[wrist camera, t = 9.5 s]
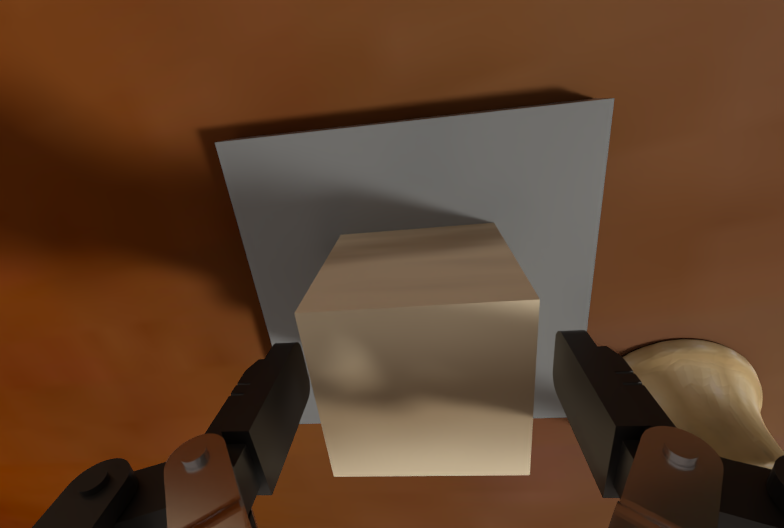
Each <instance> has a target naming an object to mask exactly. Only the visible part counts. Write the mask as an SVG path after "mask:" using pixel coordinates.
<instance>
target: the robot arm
mask: <svg viewBox="0 0 784 528" xmlns="http://www.w3.org/2000/svg"><path fill="white" fill-rule="evenodd" d="M553 383H554V388H555V391H556V394H557V396H558V398H559V401H560V403H561V405H562V407H563V409H564V412H565V414H566V416H567V418H568V421H569V423H570V425H571V427H572V430H573V432H574V434H575V436H576V439H577V441H578V443H579V445H580V448H581V450H582V452H583V454H584V456H585V459H586V461H587V463H588V465H589V468H590V470H591V472H592V474H593V477H594V479H595V481H596V483H597V486H598V488H599V490H600V492H601V495H602V497H603V498H620V502H619V501H618V502H617V504H616V507H615V510H614V512H613V515H612V518H611V521H610V524H609V527H608V528H784V455H783V456H781V457H779V458H778V459H777V460H776V461H775V463H774V466H773V468H772V469H768V468H764V467H760V466H755V465H751V464H747V463H742V462H738V461H734V460H730V459H726V458H723V457H720V456H719V455H718V454H717V453H716V451H715V450H714V449H713V448H712V447H711V446H710V445H709V444H707V443H706V442H705V441H703V440H702V439H700V438H699V437H697V436H695V435H694V434H692V433H689V432H687V431H685V430H682V429H679V428H676V426H675V425H674V424H673V422H672V421H671V420H670V418H669V417H668V416H667V414H666V413H665V412H664V411H663V409H662V408H661V407H660V405H659V404H658V403H657V401H656V400H655V399H654V397H653V396H652V395H651V394H650V392H649V391H648V390H647V388H646V387H645V386H644V385H642V382H641V380H640V379H639V378H638V376H637V375H636V374H634V373H633V370H632V369H631V367H630V366H629V365H628V363H627V362H626V361H625V359H624V358H623V357H622V356H620V355H619V354H617V353H616V352H614V351H613V350H611V349H610V348H608V347H607V346H601V347H597V346H596V344H595V343H594V341H593V340H592V338H591V337H590V336H589V334H588V333H587V331H585V330H571V331H558V332H557V333H556V337H555V348H554V360H553ZM309 394H310V380H309V375H308V371H307V367H306V363H305V359H304V355H303V351H302V348H301V345H300V344H299V343H298V342H292V343H275V344H274V345H273V346H272V348H271V349H270V351H269V353H268V354H267V356H266V358H265V359H260V360H258V361H257V362H255V363H254V364H253V365H252V366H251V367H249V368H248V369H247V370H246V371H245V372H244V374H243V376H242V377H241V379H240V380H239V382H238V385H236V386H235V388H234V389H233V391H232V393H231V396H229V397H228V399H227V400H226V402H225V403H224V405H223V406H222V408H221V410H220V411H219V413H218V414H217V416H216V417H215V419H214V420H213V422H212V423H211V425H210V427H209V428H208V430H207V431H206V433H205V434H203V435H199V436H196V437H194V438H192V439H190V440H188V441H186V442H185V443H183V444H182V445H181V446H179V447H178V448H177V449H176V450H175V451H174V452H173V453H172V454H171V455H170V457H169V458H168V460H167V462H165V463H161V464H158V465H154V466H151V467H147V468H144V469H141V470H137V471H133V470H132V468H131V466H130V464H129V463H128V462H127V461H126V460H124V459H120V458H116V459H110V460H106V461H103V462H100V463H98V464H96V465H94V466H92V467H91V468H89V469H87V470H86V471H84V472H83V473H81V474H80V475H79V476H78V477H76V478H75V479H74V480H73V481H72V482H71V483H70V484H69V485H68V486H67V487H66V489H65V490H64V491H63V492H62V493H61V494H60V496H59V497H58V498H57V499H56V500H55V501H54V503H53V504H52V505H51V506H50V507H49V508H48V510H47V511H46V512H45V513H44V514H43V515H42V517H41V518H40V519H39V520H38V521H37V522H36V524H35V525H34V526H33V527H32V528H258V526H257V523H256V519H255V516H254V513H253V510H252V508H251V507H252V505H253V503H254V500H255V498H256V495H272V494H273V491H274V488H275V486H276V483H277V480H278V478H279V475H280V473H281V470H282V467H283V465H284V462H285V459H286V457H287V454H288V451H289V449H290V446H291V444H292V441H293V438H294V436H295V433H296V430H297V428H298V425H299V423H300V420H301V417H302V415H303V412H304V409H305V407H306V404H307V401H308V399H309Z"/></svg>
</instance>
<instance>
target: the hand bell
mask: <svg viewBox="0 0 784 528" xmlns="http://www.w3.org/2000/svg"><path fill="white" fill-rule="evenodd" d="M623 358H624V359H625V361H626V362H627V363H628V365H629V366H630V367H631V369H632V370H633V373H634V374H636V375H637V376H638V378H639V379H640V380H641V382H642V385H644V386H645V387H646V388H647V390H648V391H649V392H650V394H651V395H652V396H653V397H654V399H655V400H656V401H657V403H658V404H659V405H660V407H661V408H662V409H663V411H664V412H665V413H666V414H667V416H668V417H669V418H670V420H671V421H672V422H673V424H674V425H675V426H676V428H679V429H682V430H685V431H687V432H689V433H692V434H694V435H695V436H697V437H699V438H700V439H702V440H703V441H705V442H706V443H707V444H709V445H710V446H711V447H712V448H713V449H714V450H715V451H716V453H717V454H718V455H719V456H720V457H723V458H726V459H730V460H734V461H738V462H742V463H747V464H751V465H755V466H760V467H764V468H768V469H772V468H773V466H774V463H775V461H776V460H777V459H778V458H779V457H781V456H783V455H784V451H783V450H782V449H781V448H780V446H779V445H778V444H777V443H776V441H775V440H774V439H773V437H772V436H771V434H770V433H769V431H768V429H767V428H766V426H765V424H764V422H763V420H762V418H761V414H760V411H761V407H762V399H763V398H762V388H761V385H760V382H759V379H758V376H757V374H756V372H755V370H754V369H753V367H752V366H751V365H750V363H749V362H748V361H747V360H746V359H745V358H744V357H743V356H742V355H740V354H738V353H737V352H736V351H734V350H732V349H730V348H728V347H726V346H723V345H721V344H717V343H714V342H710V341H705V340H694V339H679V340H670V341H664V342H659V343H655V344H652V345H648V346H645V347H643V348H640V349H638V350H635V351H633V352H631V353H628V354H627V355H625V356H623Z"/></svg>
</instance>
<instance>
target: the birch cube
mask: <svg viewBox="0 0 784 528" xmlns="http://www.w3.org/2000/svg"><path fill="white" fill-rule="evenodd" d="M539 306H540V299H539V297H538V295H537V294H536V292H535V290H534V289H533V287H532V285H531V284H530V282H529V280H528V279H527V277H526V275H525V274H524V272H523V270H522V269H521V267H520V265H519V264H518V262H517V260H516V259H515V257H514V255H513V254H512V252H511V250H510V249H509V247H508V245H507V243H506V242H505V240H504V238H503V237H502V235H501V233H500V232H499V230H498V228H497V227H496V225H495V223H484V224H471V225H458V226H446V227H433V228H420V229H408V230H395V231H382V232H370V233H357V234H344V235H340V237H339V239H338V240H337V242H336V244H335V245H334V247H333V249H332V250H331V252H330V254H329V256H328V257H327V259H326V261H325V262H324V264H323V266H322V267H321V269H320V271H319V272H318V274H317V276H316V277H315V279H314V281H313V283H312V284H311V286H310V288H309V289H308V291H307V293H306V294H305V296H304V298H303V299H302V301H301V303H300V304H299V306H298V308H297V309H296V311H295V313H294V314H295V318H296V323H297V327H298V331H299V335H300V339H301V343H302V347H303V351H304V355H305V360H306V364H307V368H308V372H309V376H310V380H311V384H312V388H313V392H314V397H315V401H316V405H317V409H318V413H319V417H320V421H321V425H322V429H323V434H324V438H325V442H326V446H327V450H328V454H329V458H330V462H331V466H332V471H333V475H334V477H346V476H474V475H530V461H531V444H532V426H533V409H534V392H535V375H536V357H537V340H538V323H539Z"/></svg>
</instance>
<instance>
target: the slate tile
mask: <svg viewBox="0 0 784 528" xmlns="http://www.w3.org/2000/svg"><path fill="white" fill-rule="evenodd" d="M613 105H614V98H594V99H585V100H576V101H567V102H558V103H549V104H540V105H531V106H522V107H513V108H504V109H495V110H486V111H477V112H468V113H459V114H450V115H441V116H432V117H423V118H414V119H405V120H396V121H387V122H378V123H369V124H361V125H352V126H343V127H334V128H325V129H316V130H307V131H298V132H289V133H280V134H271V135H262V136H253V137H244V138H235V139H229V140H224V141H220V142H215V146H216V149H217V153H218V156H219V160H220V163H221V167H222V170H223V174H224V178H225V181H226V185H227V188H228V192H229V195H230V199H231V202H232V206H233V209H234V213H235V216H236V220H237V224H238V227H239V231H240V234H241V238H242V241H243V245H244V248H245V252H246V255H247V259H248V263H249V266H250V270H251V273H252V277H253V280H254V284H255V287H256V291H257V294H258V298H259V301H260V305H261V309H262V312H263V316H264V319H265V323H266V326H267V330H268V333H269V337H270V340H271V344H272V346H273V345H274V344H275V343H292V342H298V343H299V344H300V345H301V348H302V351H303V347H302V343H301V339H300V335H299V331H298V327H297V323H296V318H295V314H294V313H295V311H296V309H297V308H298V306H299V304H300V303H301V301H302V299H303V298H304V296H305V294H306V293H307V291H308V289H309V288H310V286H311V284H312V283H313V281H314V279H315V277H316V276H317V274H318V272H319V271H320V269H321V267H322V266H323V264H324V262H325V261H326V259H327V257H328V256H329V254H330V252H331V250H332V249H333V247H334V245H335V244H336V242H337V240H338V239H339V237H340V235H344V234H357V233H370V232H382V231H395V230H408V229H420V228H433V227H446V226H458V225H471V224H484V223H495V225H496V227H497V228H498V230H499V232H500V233H501V235H502V237H503V238H504V240H505V242H506V243H507V245H508V247H509V249H510V250H511V252H512V254H513V255H514V257H515V259H516V260H517V262H518V264H519V265H520V267H521V269H522V270H523V272H524V274H525V275H526V277H527V279H528V280H529V282H530V284H531V285H532V287H533V289H534V290H535V292H536V294H537V295H538V297H539V299H540V306H539V323H538V340H537V357H536V375H535V392H534V409H533V418H563V417H567V416H566V414H565V412H564V409H563V407H562V405H561V403H560V401H559V398H558V396H557V394H556V391H555V388H554V383H553V360H554V348H555V337H556V333H557V332H558V331H571V330H585V331H587V324H588V316H589V307H590V299H591V291H592V282H593V274H594V265H595V257H596V248H597V240H598V232H599V223H600V215H601V206H602V198H603V189H604V181H605V173H606V164H607V156H608V147H609V139H610V130H611V122H612V113H613ZM303 355H304V351H303ZM304 359H305V355H304ZM305 363H306V360H305ZM306 367H307V364H306ZM307 371H308V368H307ZM308 375H309V372H308ZM309 380H310V376H309ZM313 423H321V421H320V417H319V413H318V409H317V405H316V401H315V397H314V392H313V388H312V384H311V380H310V394H309V399H308V401H307V404H306V407H305V409H304V412H303V415H302V417H301V420H300V423H299V424H313Z"/></svg>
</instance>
